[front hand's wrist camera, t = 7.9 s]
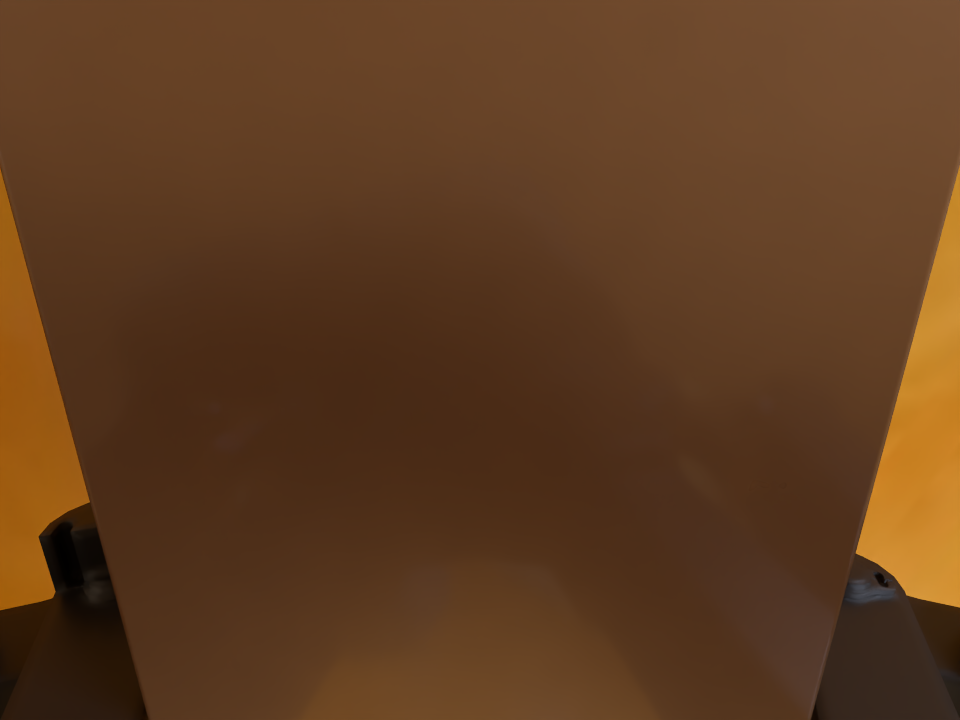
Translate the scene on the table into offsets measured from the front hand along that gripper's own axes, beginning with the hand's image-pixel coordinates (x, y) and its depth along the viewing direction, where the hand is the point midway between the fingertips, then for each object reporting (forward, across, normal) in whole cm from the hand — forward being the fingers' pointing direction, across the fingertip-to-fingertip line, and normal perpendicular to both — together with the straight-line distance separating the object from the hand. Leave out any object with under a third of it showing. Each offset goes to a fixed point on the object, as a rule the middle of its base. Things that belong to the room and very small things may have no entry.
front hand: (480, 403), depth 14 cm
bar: (0, 0, -8) cm, 9 cm away
